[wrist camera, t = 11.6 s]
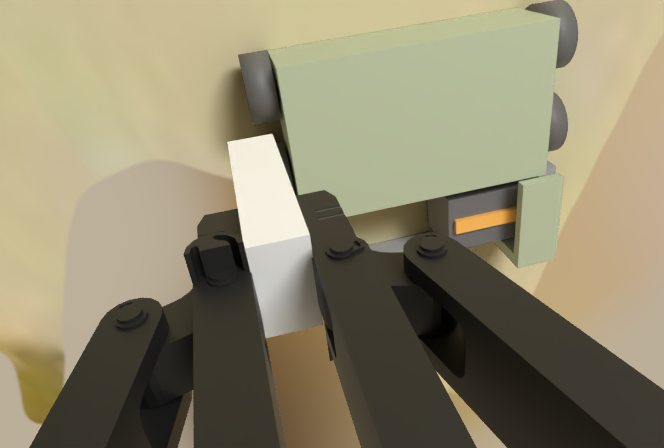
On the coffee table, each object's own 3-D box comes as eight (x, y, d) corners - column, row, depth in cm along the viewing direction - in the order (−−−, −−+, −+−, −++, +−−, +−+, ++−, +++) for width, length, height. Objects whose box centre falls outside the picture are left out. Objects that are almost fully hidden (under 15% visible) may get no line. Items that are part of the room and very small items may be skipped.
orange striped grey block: (428, 224, 49) (450, 254, 45) (426, 176, 47) (450, 203, 42) (507, 206, 50) (537, 234, 46) (509, 159, 48) (542, 183, 43)
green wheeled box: (283, 272, 49) (294, 320, 43) (236, 48, 38) (242, 70, 32) (526, 218, 52) (567, 256, 46) (542, -4, 41) (599, 7, 35)
